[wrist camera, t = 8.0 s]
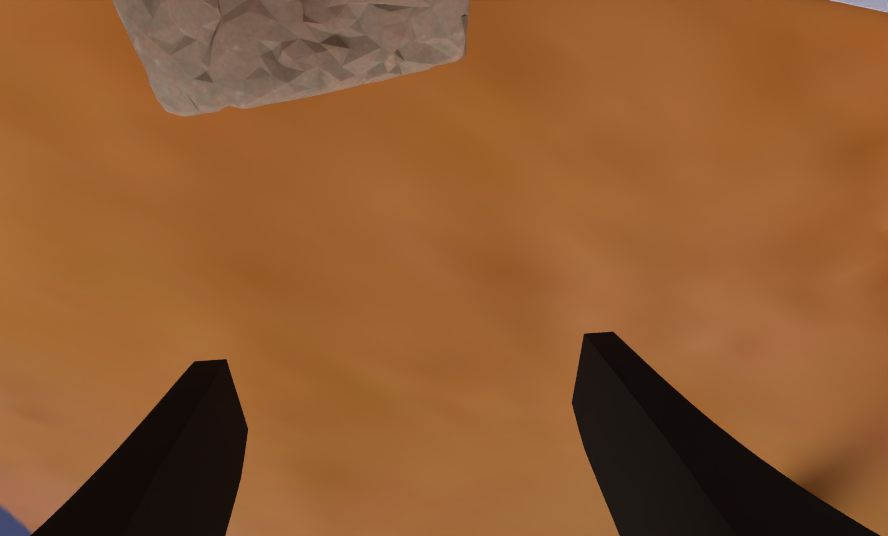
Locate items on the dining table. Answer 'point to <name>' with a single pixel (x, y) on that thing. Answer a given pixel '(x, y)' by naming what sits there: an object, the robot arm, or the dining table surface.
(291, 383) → the dining table surface
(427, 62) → the brick
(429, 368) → the dining table surface
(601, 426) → the robot arm
